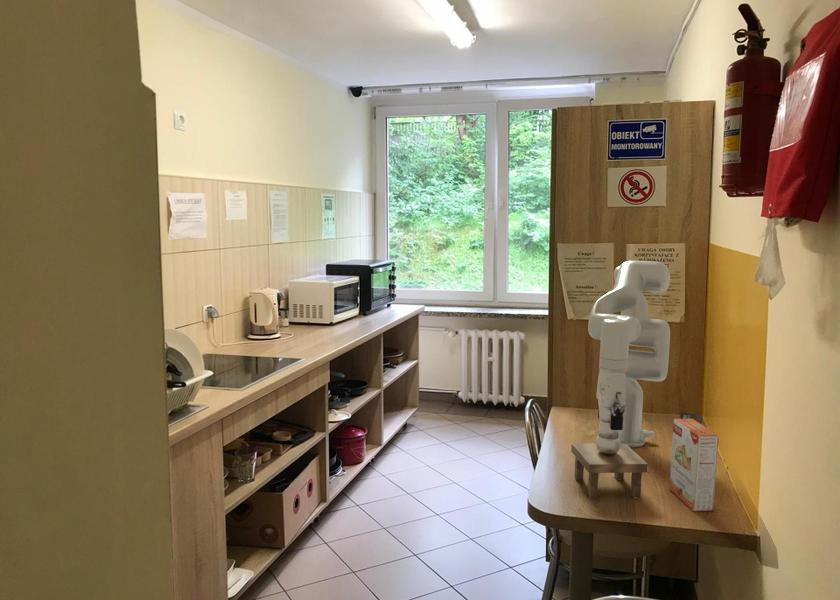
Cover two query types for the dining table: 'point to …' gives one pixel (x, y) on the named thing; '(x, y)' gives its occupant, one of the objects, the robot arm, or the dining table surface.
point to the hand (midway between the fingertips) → (609, 424)
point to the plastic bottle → (606, 431)
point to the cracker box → (694, 464)
